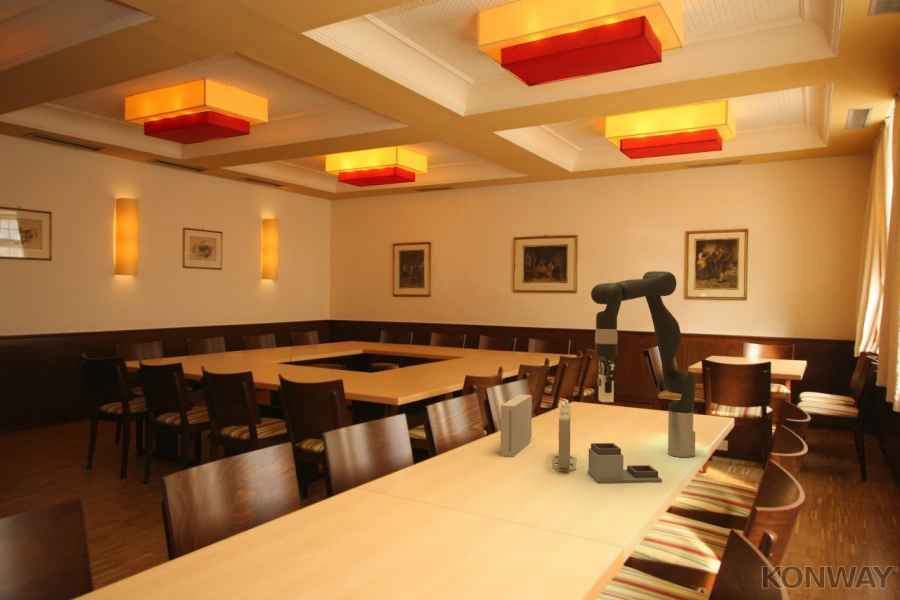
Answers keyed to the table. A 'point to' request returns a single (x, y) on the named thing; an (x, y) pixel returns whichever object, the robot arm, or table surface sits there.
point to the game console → (516, 424)
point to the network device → (564, 441)
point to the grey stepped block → (616, 466)
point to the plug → (602, 395)
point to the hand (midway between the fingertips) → (606, 391)
